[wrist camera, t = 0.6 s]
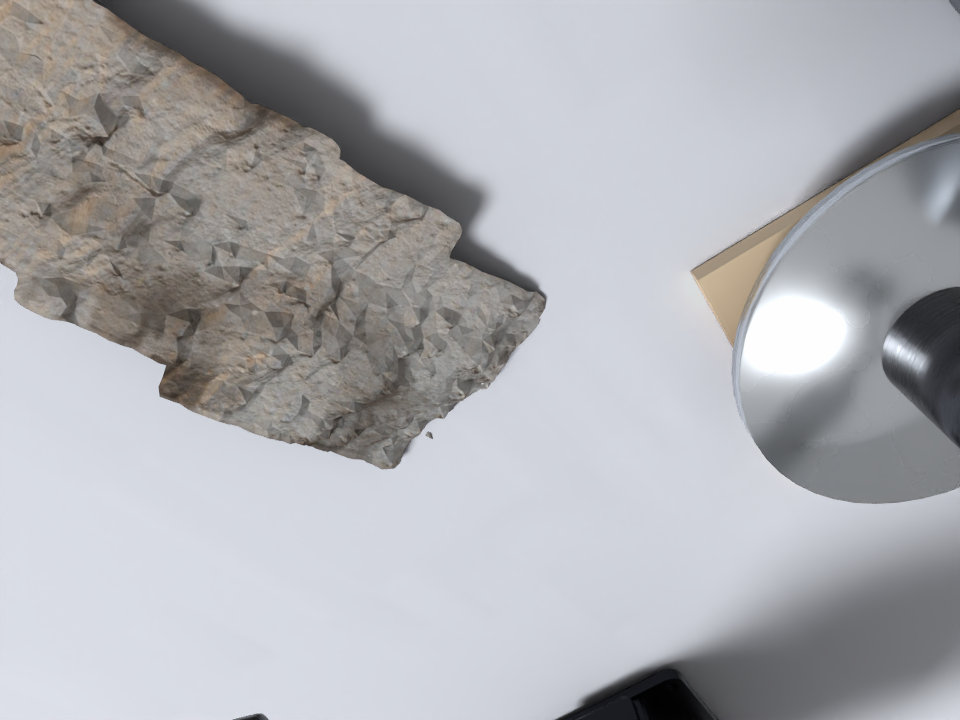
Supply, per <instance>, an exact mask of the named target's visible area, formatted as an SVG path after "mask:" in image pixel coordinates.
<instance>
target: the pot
mask: <svg viewBox="0 0 960 720" xmlns="http://www.w3.org/2000/svg"><path fill="white" fill-rule="evenodd" d="M949 1H950V3H951V4H952V6H953V7H954V8H955V9H956V10H957V12H958V13H959V14H960V0H949Z"/></svg>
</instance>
